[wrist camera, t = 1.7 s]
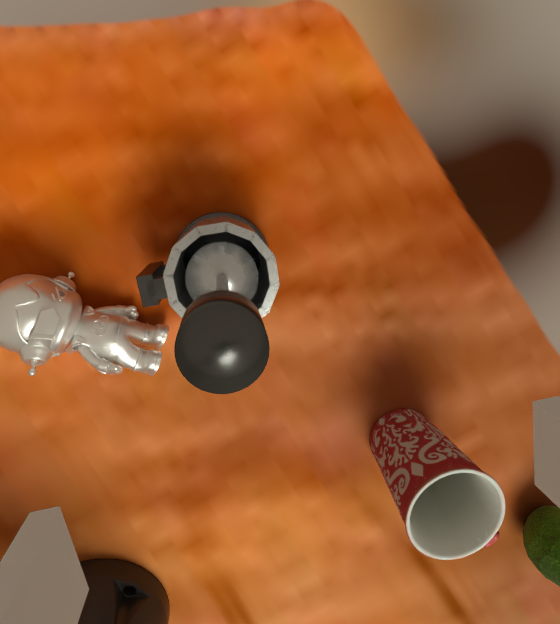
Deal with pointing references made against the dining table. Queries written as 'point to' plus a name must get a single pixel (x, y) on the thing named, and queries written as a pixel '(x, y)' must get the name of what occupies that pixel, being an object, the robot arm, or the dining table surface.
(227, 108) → the dining table surface
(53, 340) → the figurine
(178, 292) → the grey coffee mug
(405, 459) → the mug
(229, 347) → the plunger
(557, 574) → the avocado
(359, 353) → the dining table surface
